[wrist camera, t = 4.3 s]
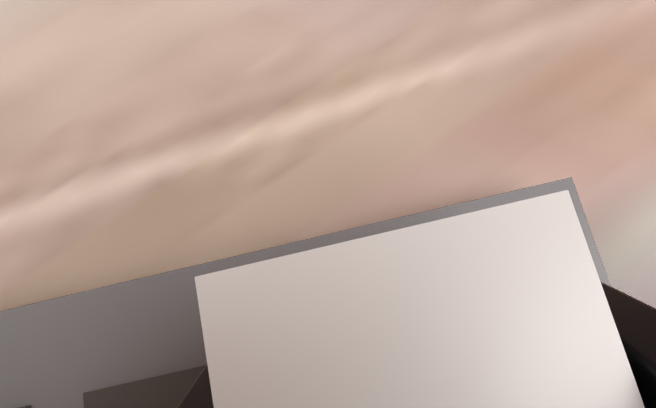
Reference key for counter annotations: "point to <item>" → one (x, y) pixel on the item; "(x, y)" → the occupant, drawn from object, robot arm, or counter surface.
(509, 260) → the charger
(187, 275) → the power strip
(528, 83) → the counter surface
